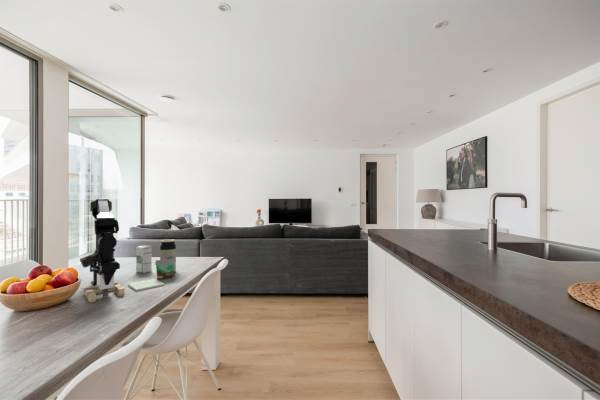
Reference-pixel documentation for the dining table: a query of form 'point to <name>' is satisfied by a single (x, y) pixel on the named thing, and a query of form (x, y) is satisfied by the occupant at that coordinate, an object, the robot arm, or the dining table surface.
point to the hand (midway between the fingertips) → (105, 283)
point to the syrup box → (143, 259)
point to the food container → (165, 268)
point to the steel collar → (103, 282)
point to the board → (145, 284)
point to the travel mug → (168, 250)
